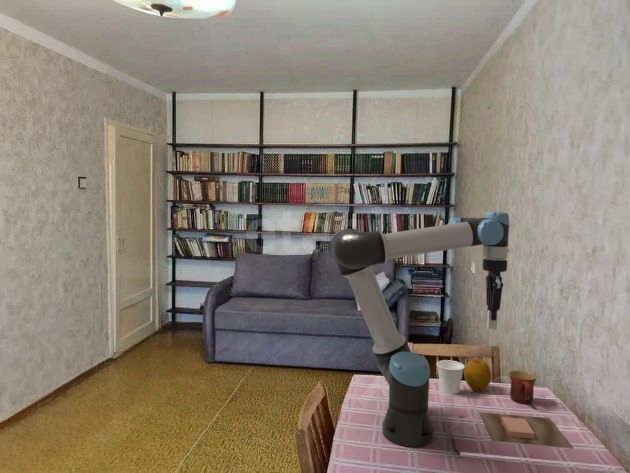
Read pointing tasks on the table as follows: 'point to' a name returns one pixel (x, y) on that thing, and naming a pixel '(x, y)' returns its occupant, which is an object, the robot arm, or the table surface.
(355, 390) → the table surface
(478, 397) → the table surface
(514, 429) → the tile
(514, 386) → the mug
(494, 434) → the board
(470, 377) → the apple
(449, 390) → the cup
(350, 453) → the table surface
